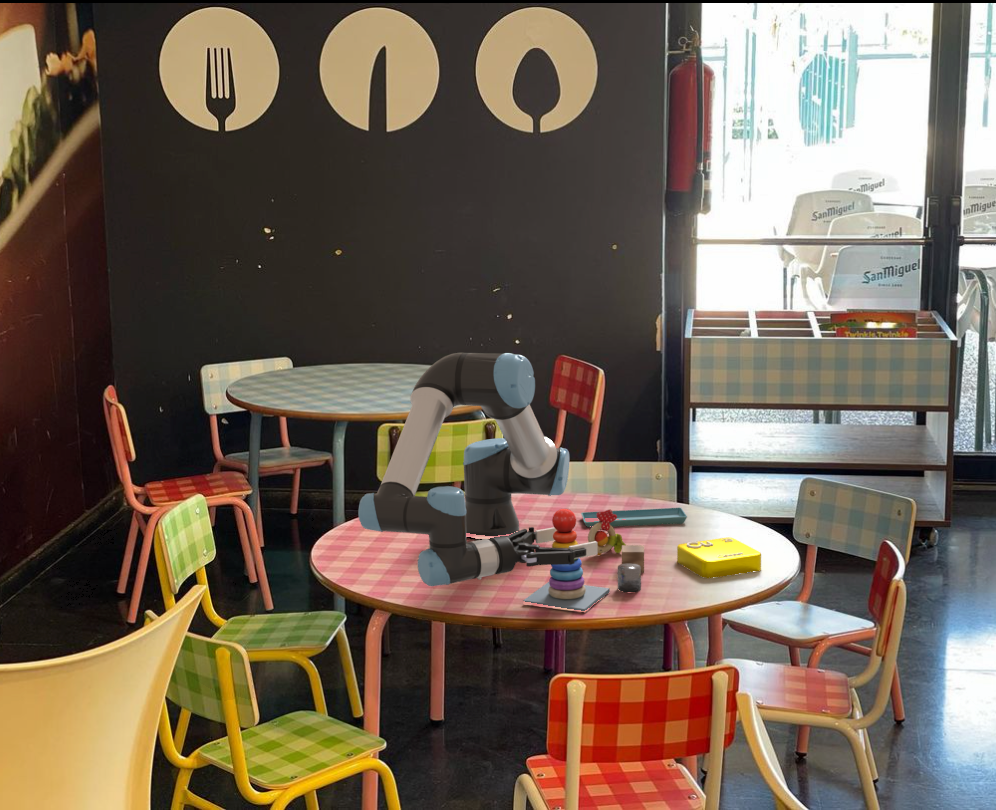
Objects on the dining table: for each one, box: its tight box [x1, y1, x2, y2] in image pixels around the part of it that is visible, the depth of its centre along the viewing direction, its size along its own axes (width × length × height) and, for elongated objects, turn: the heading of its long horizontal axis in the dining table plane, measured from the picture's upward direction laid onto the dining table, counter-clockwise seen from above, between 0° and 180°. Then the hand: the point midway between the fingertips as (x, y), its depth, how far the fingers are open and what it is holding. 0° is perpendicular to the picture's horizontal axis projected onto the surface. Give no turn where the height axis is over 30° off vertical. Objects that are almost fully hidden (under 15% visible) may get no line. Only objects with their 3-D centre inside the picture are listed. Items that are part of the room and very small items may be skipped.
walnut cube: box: [621, 544, 645, 574], centre depth 302 cm, size 5×5×5 cm
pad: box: [522, 581, 611, 611], centre depth 284 cm, size 14×14×1 cm
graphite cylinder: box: [617, 563, 642, 593], centre depth 289 cm, size 5×5×5 cm
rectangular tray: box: [580, 506, 688, 528], centre depth 341 cm, size 26×9×2 cm, turn 92°
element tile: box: [676, 536, 762, 579], centre depth 303 cm, size 15×15×5 cm
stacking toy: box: [548, 508, 586, 599], centre depth 282 cm, size 8×8×19 cm
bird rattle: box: [587, 509, 627, 556], centre depth 314 cm, size 6×11×9 cm
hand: (579, 539), depth 283 cm, fingers open, 13 cm apart
